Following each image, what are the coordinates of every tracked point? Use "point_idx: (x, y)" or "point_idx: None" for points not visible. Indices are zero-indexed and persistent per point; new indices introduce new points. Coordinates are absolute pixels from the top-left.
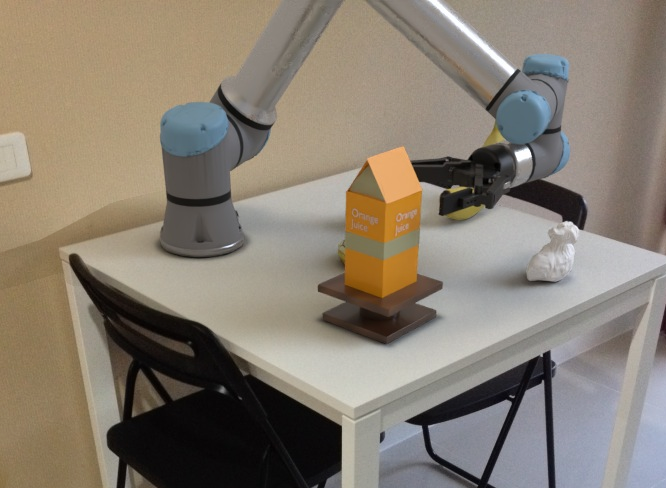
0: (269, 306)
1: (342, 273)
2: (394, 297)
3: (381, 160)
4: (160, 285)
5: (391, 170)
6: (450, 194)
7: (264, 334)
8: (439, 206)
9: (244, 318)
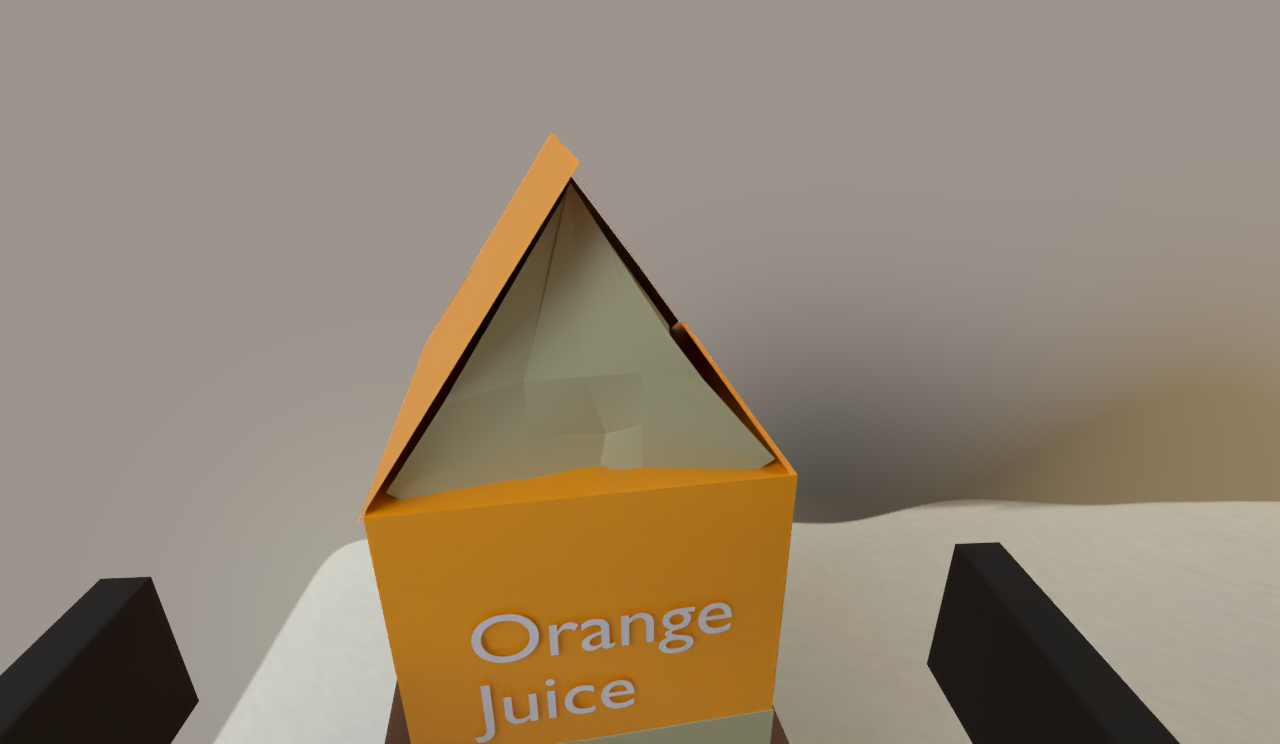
0: (890, 657)
1: (782, 731)
2: None
3: (534, 174)
4: (1113, 539)
5: (494, 252)
6: (26, 681)
7: None
8: (176, 648)
9: (834, 579)
